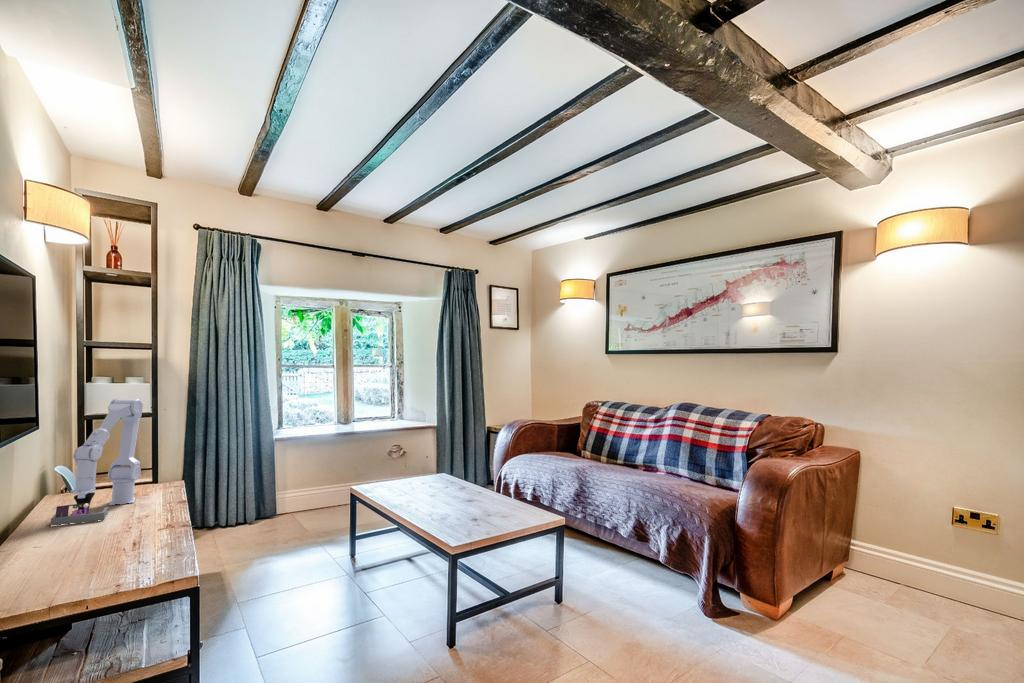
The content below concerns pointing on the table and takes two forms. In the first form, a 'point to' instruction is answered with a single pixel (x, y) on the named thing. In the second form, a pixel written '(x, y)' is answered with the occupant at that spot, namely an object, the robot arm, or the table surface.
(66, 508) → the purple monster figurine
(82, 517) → the holder
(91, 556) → the table surface
